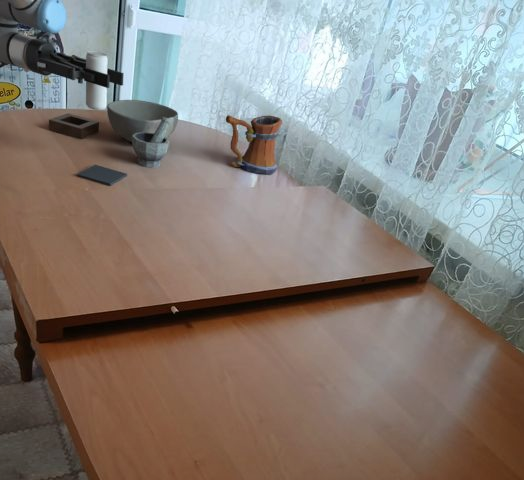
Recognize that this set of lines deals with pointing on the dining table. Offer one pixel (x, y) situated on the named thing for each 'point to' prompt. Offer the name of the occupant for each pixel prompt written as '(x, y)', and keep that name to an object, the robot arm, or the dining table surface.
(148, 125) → the bowl
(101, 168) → the mat
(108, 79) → the robot arm
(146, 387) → the dining table surface
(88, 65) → the beverage can
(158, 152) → the mortar and pestle
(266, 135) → the mug
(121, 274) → the dining table surface
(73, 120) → the frame
